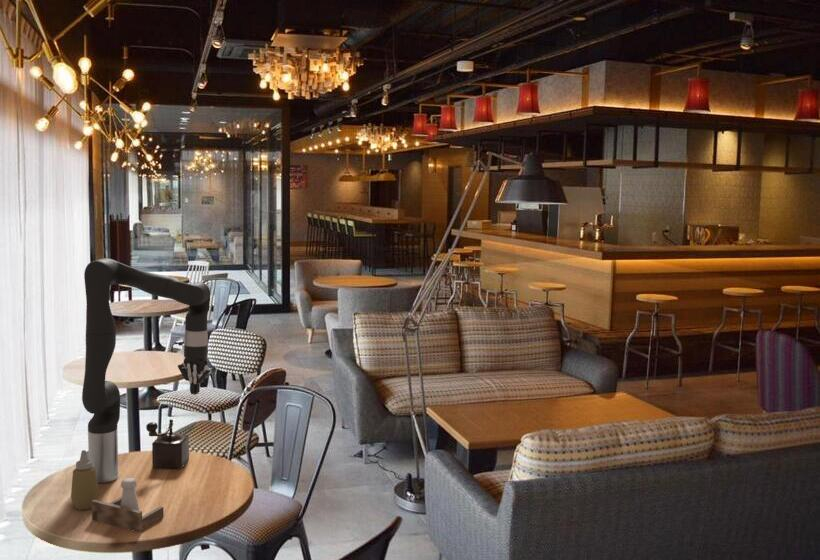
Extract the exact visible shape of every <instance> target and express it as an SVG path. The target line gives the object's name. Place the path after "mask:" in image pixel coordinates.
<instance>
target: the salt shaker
mask: <svg viewBox="0 0 820 560" xmlns="http://www.w3.org/2000/svg"><path fill="white" fill-rule="evenodd" d="M120 487H121V489H122V494H121V497H122V499H121V505H120V506H123V507H127V508H131V509H135V510H139V511H140V507H139V503H138V502H139V501H138V498H137V497H138V496H137V493H136V487H137V479H135V478H134V477H127V478H123V479H122V480H121V482H120Z"/></svg>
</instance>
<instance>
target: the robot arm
mask: <svg viewBox="0 0 820 560" xmlns="http://www.w3.org/2000/svg"><path fill="white" fill-rule="evenodd" d="M83 275H84V286H85V287H84V288H85V298H86V299H85V300H86V311H85V313H86V314H85V320H86V321H85V322H86V323H85V360H84V361H85V363H84V366H85V368H84V378H83V385H82V391H81V394H82V395H81V400H82V401H81V402H82V405H83V407H84V409H85V410H86V412H88V413H90V414H93V415H92V417H91V418H90V420H89V421H88V422H87V441H88V442H87V445H88V446H87V447H88V450H87V451H86V453H87V457H88V460H91V461H92V467H94V468H95V470H96V477H97V484H105V483H109V482H113V481H115V480H117V479H118V478H119V447H118V445H119V444H118V443H119V441H118V440H119V439H118V435H119V434H118V423H119V421H120V416H121V393H120V390H119V387H118V385H116V383H114V382H113V381H111V380H106V374H107V370H108V367H109V364H110V362H111V359H112V356H113V355H114V351H115V348H116V343H117V342H116V341H117V340H116V339H117V326H116V322H115V318H114V316H113V313H112V311H111V305H110V288H111V286H112V285H119V286H128V287H133V288H134V289H135V288H136V289H139V290H141V291H142V292H144V293H147V294H149V295H152V296H156V297H160V298H165V299H170V300H173V301H176V302H178V303H181V304H183V305H187V306H188V311H187V313H186V314H185V319H184V320H185V321H184V322H185V323H184V324H185V325H184V335H183V357H184V359H183V362H181V364H178V365H177V369H178V370H179V372H180V374H181V375H182V376H183V378H184V381H186V382H189V392H190V395H193V396H194V395H198V394H199V393H200V391H201V390H200V389H201V386H200V385H201V384H202V383H204V382H206V380H207V379H208V378H209V376H210V375H212V373H213V372H214V369H213V367H211V368H210V367H209V366H208V360H207V357H208V347H209V346H208V344H209V343H208V341H209V337H208V313H209V309H210V304H211V289H210V286H208V285H207V283H205V282H200V281H198V282H195V283H194V282H193V283H187V282H183V281H181V280H180V279H178V278H176V277H171V276H167V275H164V274H163V275H162V274H159V273H153V272H150V271H145V270H142V269H137V268H135V267H133V266H129V265H127V264H124V263H121V262H120V261H117V260H115V259H112V258H109V257H108V258H107V257H104V258H99V259H96V260H92V261H90V262H89V263H87V265H86V267H85V269H84V273H83Z"/></svg>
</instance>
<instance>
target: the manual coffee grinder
mask: <svg viewBox="0 0 820 560" xmlns="http://www.w3.org/2000/svg"><path fill="white" fill-rule="evenodd" d="M168 421H169V423H168V428H167V429H166V430H165V431H164V432H161V433H158V432H157V429H158V428H159V426H158V423H157V422H149V423H147V424H146V425H145V427H146V431H147V432H148V436H149V437H156V439H155V440H154V441H153V442H152V444H151V445H152V448H151V450H152V455H151V457H152V460H151V461H152V467H151V468H153V469H159V470H181V469H182V468H183V467H184V466H185V465H186V464H187V462H188V461H189V460H190V453H189V452H190V435H189V434H179V433H176V432H173V426H174V420H173V419H169V420H168ZM185 463H186V464H185ZM184 464H185V465H184ZM183 465H184V466H183Z"/></svg>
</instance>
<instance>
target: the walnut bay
mask: <svg viewBox="0 0 820 560" xmlns="http://www.w3.org/2000/svg"><path fill="white" fill-rule="evenodd" d="M121 499H122V496H120V497H118V498H116V499H115V500H113V501H111V502H105V501H102V500H98V499H97V500H93V501H92V508H91V521H93V522H94V521H95V522H97V523H100V524H101V523H102V524H107V525H109V526H114V527H116V526H117V527H118V528H121V529H124V530H128V529H129V530H128V531H132V530H134V531H133V532H135V531H137V532H136V533H139V532H140V533H141V532H143V529H145V528H146V526H147V527H149V526H150V525H151V524H154V523H155V522H157V521H158V520H160V519H162V518H163V517H164V506H162V505H161V506H158V507H157V508H155V509H153V510H152V511H150V512H148V513H146V514H144V515H143V511H141V510H140V509H139V510H135V509H131V508H127V507H123V506H120V505H121Z"/></svg>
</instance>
